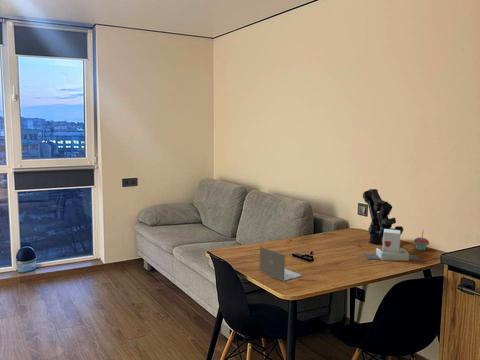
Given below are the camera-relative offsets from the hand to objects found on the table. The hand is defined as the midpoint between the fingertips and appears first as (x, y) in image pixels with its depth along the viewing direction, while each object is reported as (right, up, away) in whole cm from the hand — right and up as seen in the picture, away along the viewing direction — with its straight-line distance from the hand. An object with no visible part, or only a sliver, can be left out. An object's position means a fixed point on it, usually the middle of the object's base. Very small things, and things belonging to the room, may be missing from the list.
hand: (388, 242), depth 251 cm
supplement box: (0, -7, -4) cm, 9 cm away
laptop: (-66, -11, -36) cm, 75 cm away
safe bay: (0, -7, -6) cm, 9 cm away
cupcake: (+24, -6, +13) cm, 28 cm away
